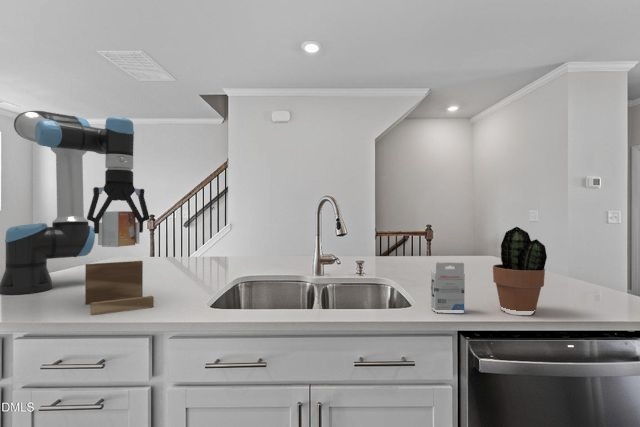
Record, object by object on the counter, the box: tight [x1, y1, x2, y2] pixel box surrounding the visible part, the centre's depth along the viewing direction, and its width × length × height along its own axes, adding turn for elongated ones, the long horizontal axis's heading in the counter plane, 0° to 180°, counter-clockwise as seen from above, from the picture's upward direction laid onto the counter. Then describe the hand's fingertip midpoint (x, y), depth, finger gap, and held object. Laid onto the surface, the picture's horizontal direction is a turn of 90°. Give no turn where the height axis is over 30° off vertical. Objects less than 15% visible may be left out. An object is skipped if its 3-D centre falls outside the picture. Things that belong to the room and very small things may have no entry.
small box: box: [101, 210, 137, 248], centre depth 118 cm, size 8×6×10 cm
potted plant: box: [492, 226, 548, 311], centre depth 114 cm, size 14×14×25 cm
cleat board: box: [84, 260, 155, 316], centre depth 118 cm, size 17×16×12 cm
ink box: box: [430, 261, 466, 311], centre depth 114 cm, size 8×5×15 cm, turn 90°
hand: (119, 244), depth 118 cm, fingers closed on small box, 9 cm apart
